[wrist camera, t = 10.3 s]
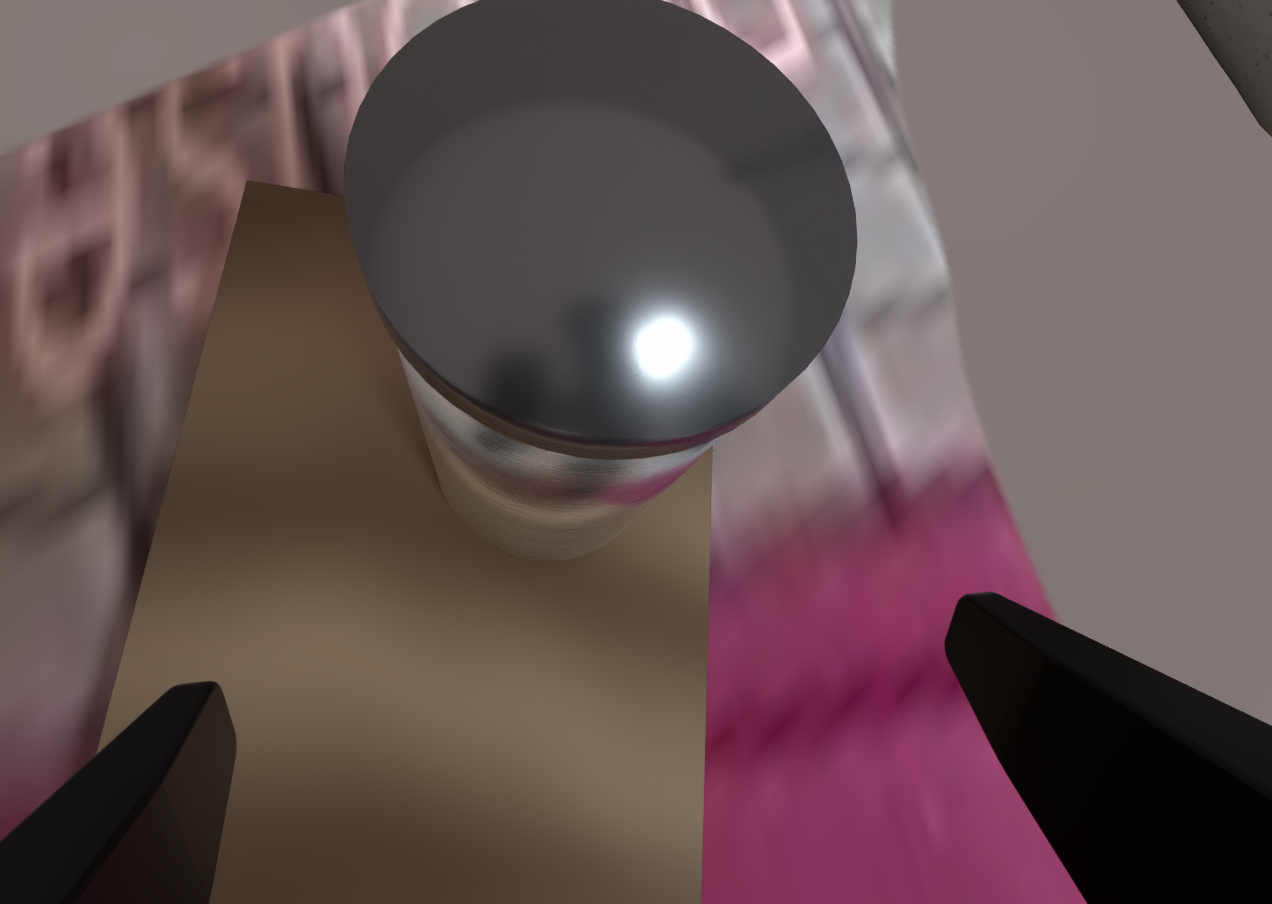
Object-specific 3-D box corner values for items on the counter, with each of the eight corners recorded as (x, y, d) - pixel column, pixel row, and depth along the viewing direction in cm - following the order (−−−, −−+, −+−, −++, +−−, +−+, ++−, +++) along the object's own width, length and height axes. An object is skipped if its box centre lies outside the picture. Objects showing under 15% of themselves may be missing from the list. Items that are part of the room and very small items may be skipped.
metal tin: (687, 530, 17) (929, 373, 8) (461, 594, 16) (410, 500, 6) (623, 328, 18) (764, -28, 9) (407, 370, 17) (295, 2, 7)
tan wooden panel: (684, 1026, 15) (697, 1050, 14) (48, 1041, 13) (13, 1069, 12) (706, 274, 20) (717, 255, 19) (259, 205, 18) (246, 180, 17)
